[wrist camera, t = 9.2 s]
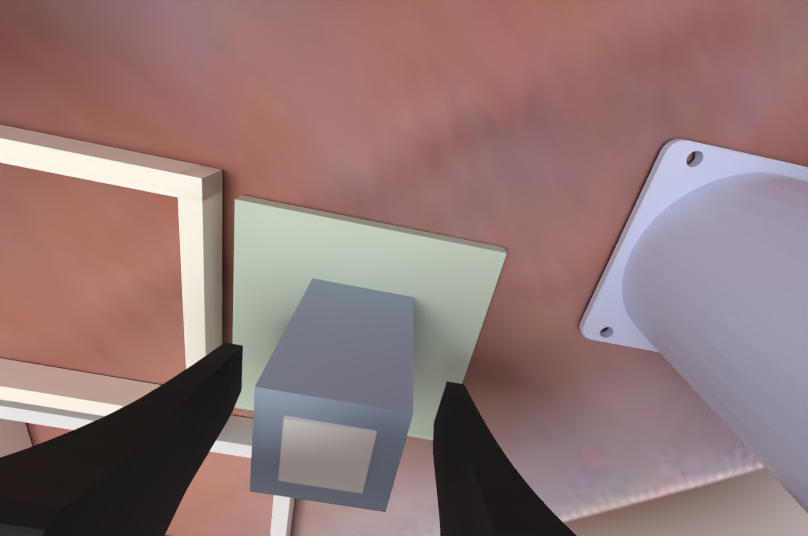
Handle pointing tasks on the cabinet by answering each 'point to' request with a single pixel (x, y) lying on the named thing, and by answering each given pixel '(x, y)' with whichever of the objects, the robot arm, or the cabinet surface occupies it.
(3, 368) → the cream rectangular frame
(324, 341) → the slate block
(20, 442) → the grey rectangular frame
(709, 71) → the cabinet surface
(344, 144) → the cabinet surface
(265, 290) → the green mat
